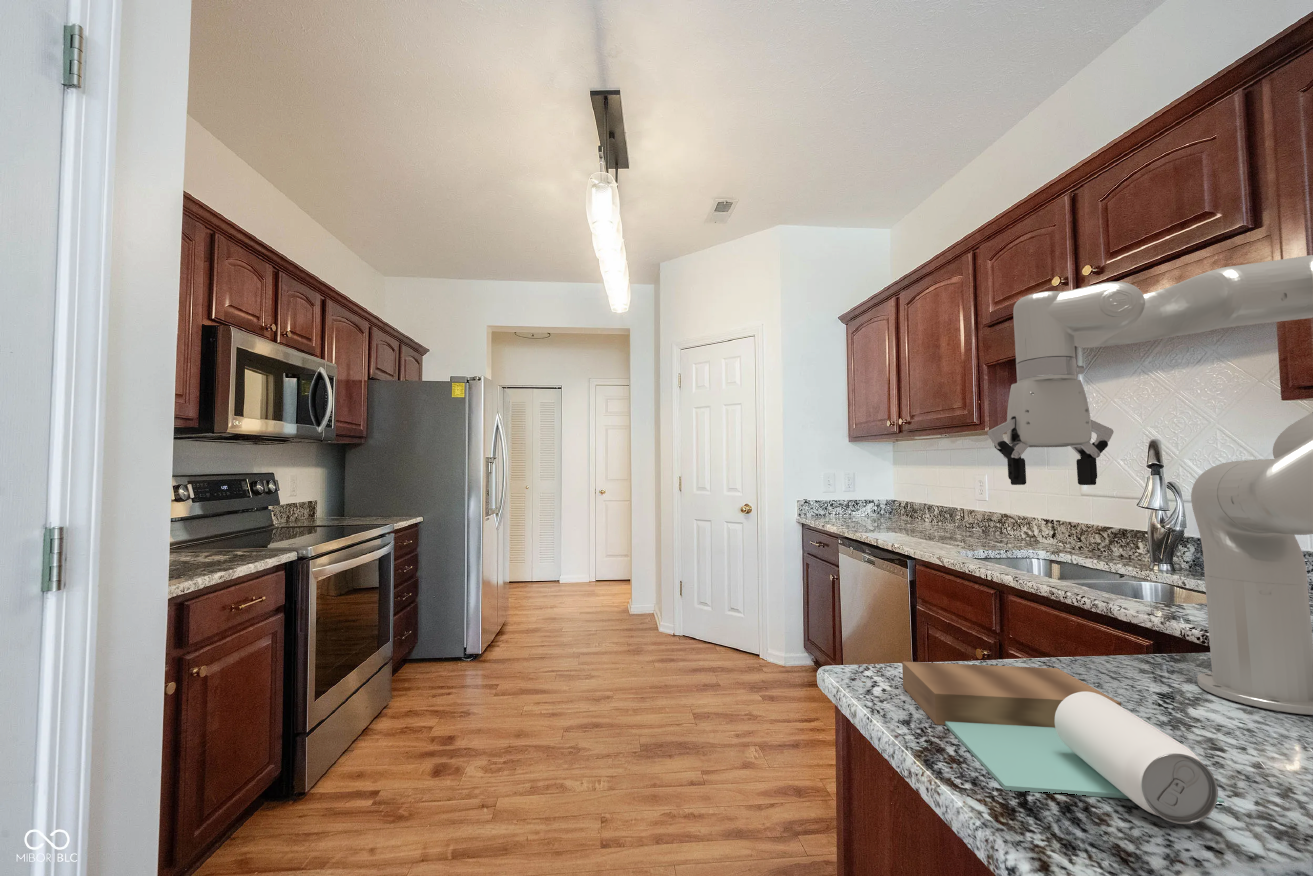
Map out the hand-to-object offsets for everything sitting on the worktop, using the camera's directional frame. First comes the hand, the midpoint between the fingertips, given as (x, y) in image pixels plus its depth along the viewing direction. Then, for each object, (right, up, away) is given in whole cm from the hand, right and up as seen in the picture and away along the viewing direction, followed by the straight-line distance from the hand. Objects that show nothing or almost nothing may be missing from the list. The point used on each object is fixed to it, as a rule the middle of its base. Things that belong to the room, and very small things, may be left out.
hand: (1052, 484), depth 84 cm
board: (-17, -27, -14) cm, 35 cm away
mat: (-18, -26, -27) cm, 42 cm away
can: (-16, -22, -26) cm, 38 cm away
